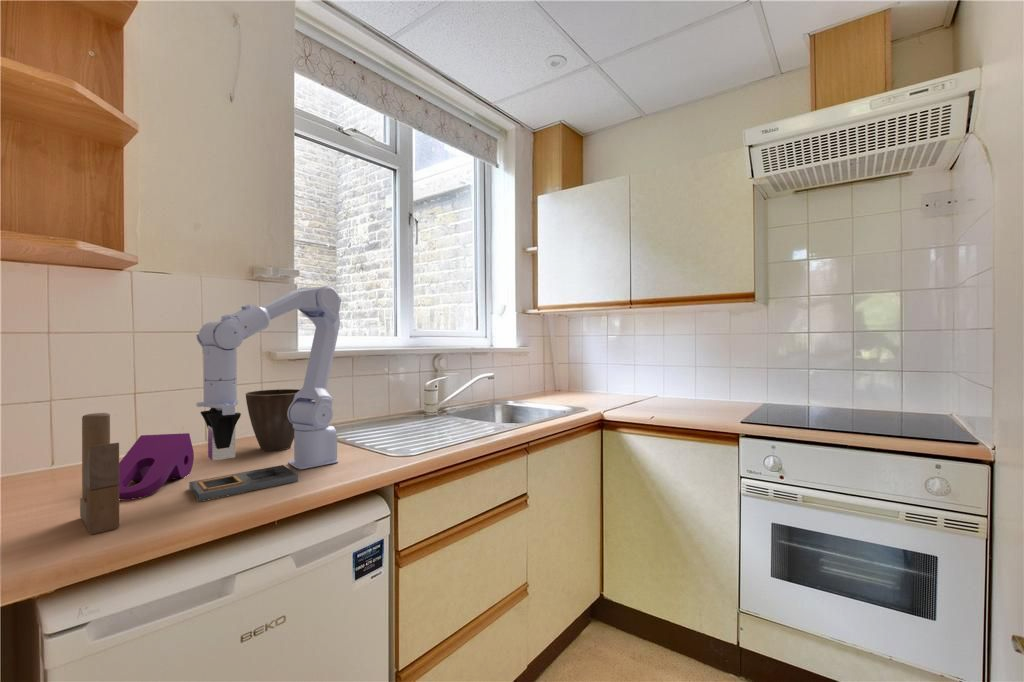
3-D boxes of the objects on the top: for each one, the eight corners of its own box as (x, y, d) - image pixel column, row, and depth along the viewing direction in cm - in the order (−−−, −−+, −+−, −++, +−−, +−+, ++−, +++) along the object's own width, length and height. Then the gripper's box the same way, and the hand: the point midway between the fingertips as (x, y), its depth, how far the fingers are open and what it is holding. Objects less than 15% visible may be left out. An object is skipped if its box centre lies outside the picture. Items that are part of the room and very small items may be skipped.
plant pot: (237, 448, 127) (237, 391, 127) (292, 439, 138) (292, 387, 138) (256, 458, 117) (256, 396, 117) (314, 447, 128) (314, 391, 128)
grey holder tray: (282, 471, 106) (282, 464, 106) (298, 481, 98) (298, 473, 98) (189, 489, 93) (189, 481, 93) (199, 502, 86) (199, 493, 86)
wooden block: (89, 535, 71) (89, 422, 71) (79, 518, 78) (79, 414, 78) (120, 528, 74) (120, 418, 74) (108, 511, 81) (107, 411, 81)
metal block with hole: (230, 453, 96) (230, 422, 96) (235, 457, 93) (235, 425, 93) (208, 456, 93) (208, 425, 93) (212, 460, 90) (212, 427, 90)
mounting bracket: (161, 522, 91) (196, 462, 107) (152, 490, 87) (189, 433, 103) (106, 527, 89) (149, 464, 104) (94, 494, 85) (140, 435, 101)
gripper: (190, 378, 95) (190, 443, 95) (204, 383, 84) (204, 456, 85) (228, 376, 100) (228, 437, 100) (247, 381, 89) (247, 449, 89)
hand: (220, 446), depth 93 cm, fingers closed on metal block with hole, 4 cm apart
